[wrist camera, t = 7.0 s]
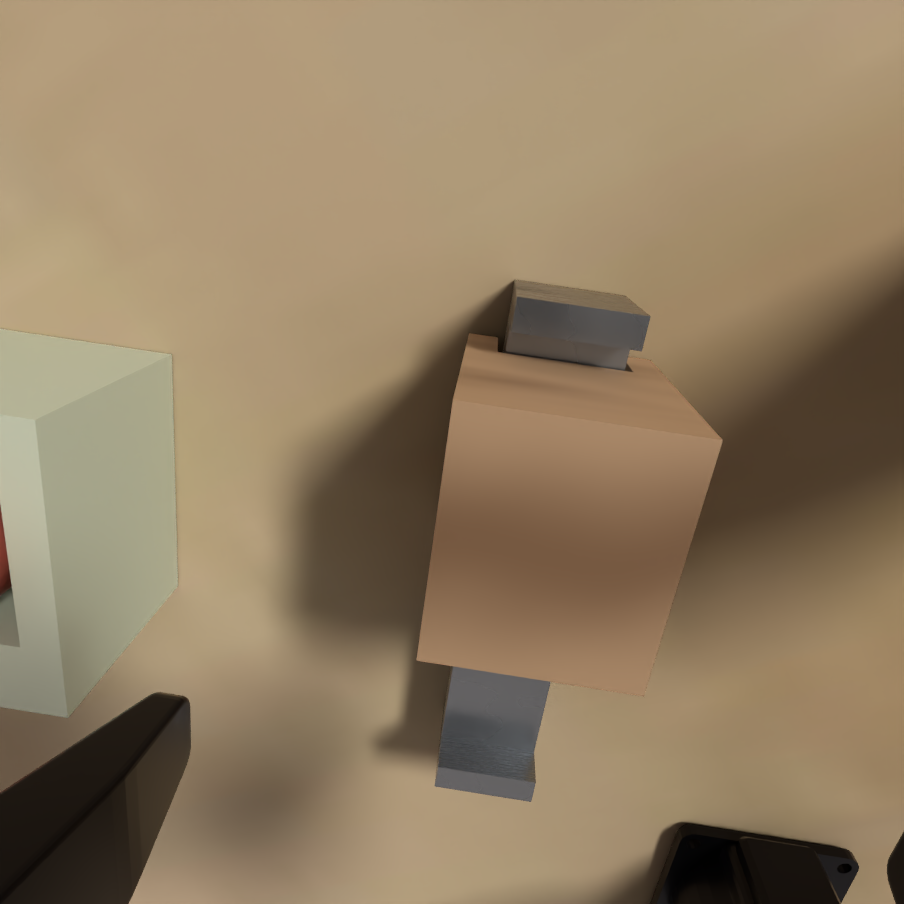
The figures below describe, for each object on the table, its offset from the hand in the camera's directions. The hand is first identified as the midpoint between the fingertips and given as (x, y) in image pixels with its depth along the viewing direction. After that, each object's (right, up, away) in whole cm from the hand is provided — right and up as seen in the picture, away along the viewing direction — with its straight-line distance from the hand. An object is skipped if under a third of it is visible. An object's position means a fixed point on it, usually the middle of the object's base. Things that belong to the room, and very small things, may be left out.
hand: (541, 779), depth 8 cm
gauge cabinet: (-13, +4, +13) cm, 18 cm away
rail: (+1, +2, +12) cm, 12 cm away
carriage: (+1, +4, +11) cm, 12 cm away
